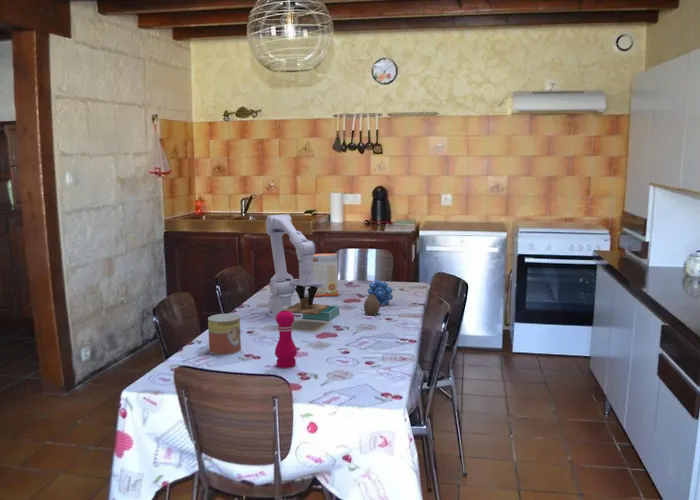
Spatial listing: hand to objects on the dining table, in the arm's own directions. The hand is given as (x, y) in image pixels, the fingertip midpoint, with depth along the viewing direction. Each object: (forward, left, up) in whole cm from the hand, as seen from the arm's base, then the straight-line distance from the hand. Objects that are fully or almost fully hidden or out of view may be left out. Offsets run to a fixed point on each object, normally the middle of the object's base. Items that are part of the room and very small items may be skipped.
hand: (306, 304), depth 248 cm
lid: (0, 0, -2) cm, 2 cm away
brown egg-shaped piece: (+19, +27, -10) cm, 34 cm away
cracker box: (-15, +55, -10) cm, 58 cm away
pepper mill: (+12, -45, -10) cm, 48 cm away
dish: (0, +15, -9) cm, 18 cm away
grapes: (+18, +43, -10) cm, 48 cm away
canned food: (-16, -37, -10) cm, 41 cm away
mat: (0, 0, -9) cm, 9 cm away
